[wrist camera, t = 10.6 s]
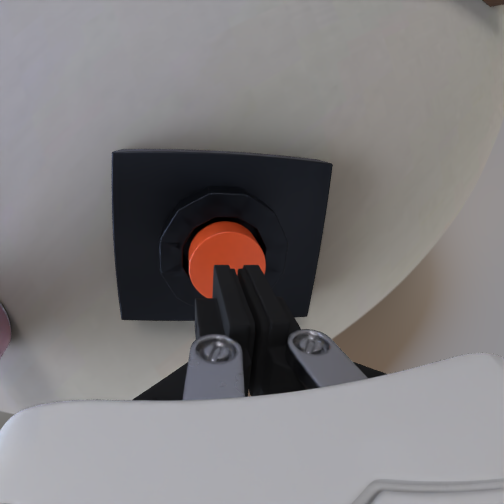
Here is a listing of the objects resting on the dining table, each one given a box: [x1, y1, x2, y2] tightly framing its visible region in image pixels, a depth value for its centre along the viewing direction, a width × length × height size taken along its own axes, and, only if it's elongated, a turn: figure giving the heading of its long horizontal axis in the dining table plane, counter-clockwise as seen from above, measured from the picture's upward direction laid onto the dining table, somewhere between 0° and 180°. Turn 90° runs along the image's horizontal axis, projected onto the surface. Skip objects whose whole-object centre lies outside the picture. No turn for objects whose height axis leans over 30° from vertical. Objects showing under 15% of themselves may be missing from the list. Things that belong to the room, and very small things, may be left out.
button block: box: [112, 149, 333, 321], centre depth 18 cm, size 12×10×4 cm
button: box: [188, 221, 266, 298], centre depth 15 cm, size 4×4×2 cm
